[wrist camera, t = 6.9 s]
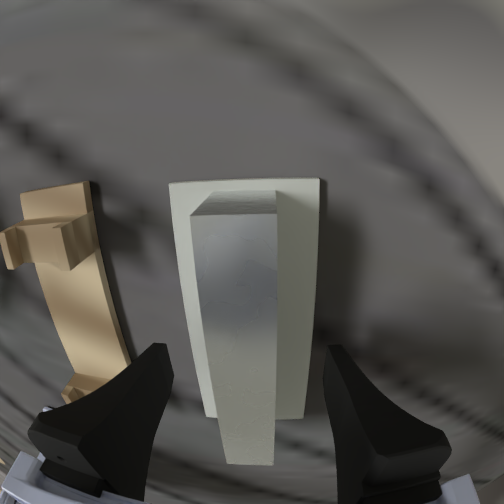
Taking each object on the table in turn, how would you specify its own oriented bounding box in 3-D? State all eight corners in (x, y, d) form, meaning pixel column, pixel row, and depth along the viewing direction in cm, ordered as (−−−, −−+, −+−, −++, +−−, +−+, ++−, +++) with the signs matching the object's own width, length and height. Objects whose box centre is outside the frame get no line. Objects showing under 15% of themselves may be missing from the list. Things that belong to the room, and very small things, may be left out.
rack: (149, 410, 19) (137, 440, 16) (94, 399, 19) (80, 426, 17) (89, 180, 13) (54, 193, 11) (26, 191, 14) (-8, 204, 11)
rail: (274, 414, 18) (273, 465, 14) (233, 413, 18) (227, 463, 14) (275, 189, 13) (277, 213, 9) (213, 191, 13) (189, 215, 9)
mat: (302, 414, 18) (303, 418, 18) (207, 412, 19) (206, 416, 18) (318, 177, 13) (319, 179, 12) (171, 182, 13) (168, 184, 13)
